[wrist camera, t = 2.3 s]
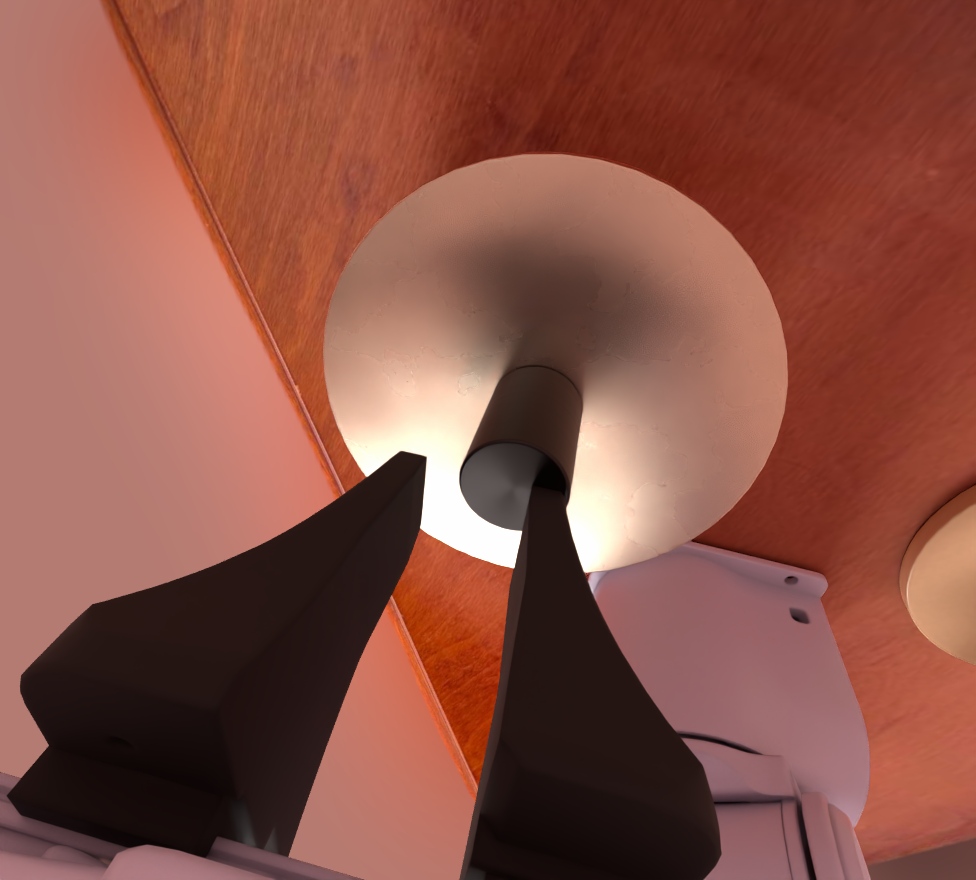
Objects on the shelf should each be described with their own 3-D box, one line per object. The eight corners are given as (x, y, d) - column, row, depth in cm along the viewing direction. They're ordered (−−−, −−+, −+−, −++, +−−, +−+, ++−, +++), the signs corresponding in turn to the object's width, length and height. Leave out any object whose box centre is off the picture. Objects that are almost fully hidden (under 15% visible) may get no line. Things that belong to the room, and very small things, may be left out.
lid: (879, 213, 12) (999, 276, 8) (678, 590, 19) (691, 724, 15) (344, 98, 13) (223, 104, 9) (335, 495, 20) (262, 597, 16)
